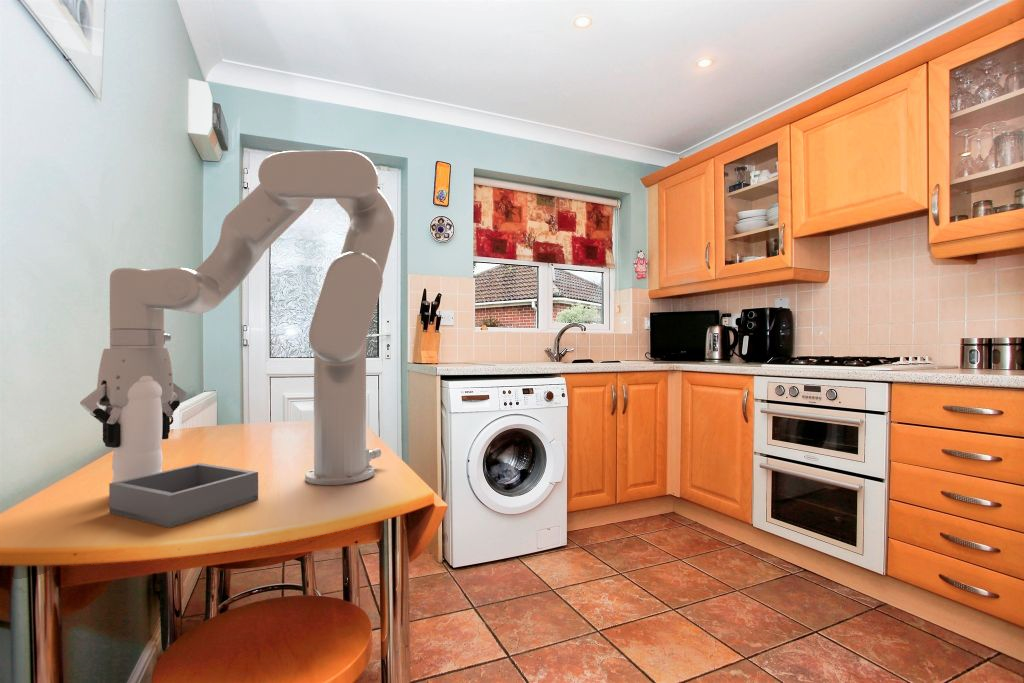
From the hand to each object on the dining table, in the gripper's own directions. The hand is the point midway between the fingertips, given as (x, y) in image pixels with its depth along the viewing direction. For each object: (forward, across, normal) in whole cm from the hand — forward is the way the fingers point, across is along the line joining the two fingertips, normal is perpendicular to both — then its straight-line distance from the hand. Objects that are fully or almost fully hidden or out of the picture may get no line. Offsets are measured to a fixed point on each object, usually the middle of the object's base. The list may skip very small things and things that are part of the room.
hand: (137, 441), depth 87 cm
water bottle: (+9, 0, 0) cm, 9 cm away
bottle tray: (+9, +1, +15) cm, 17 cm away
